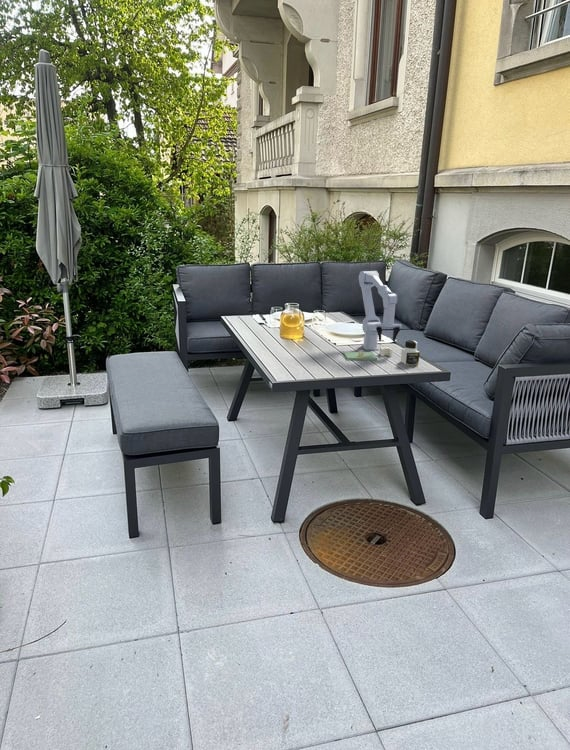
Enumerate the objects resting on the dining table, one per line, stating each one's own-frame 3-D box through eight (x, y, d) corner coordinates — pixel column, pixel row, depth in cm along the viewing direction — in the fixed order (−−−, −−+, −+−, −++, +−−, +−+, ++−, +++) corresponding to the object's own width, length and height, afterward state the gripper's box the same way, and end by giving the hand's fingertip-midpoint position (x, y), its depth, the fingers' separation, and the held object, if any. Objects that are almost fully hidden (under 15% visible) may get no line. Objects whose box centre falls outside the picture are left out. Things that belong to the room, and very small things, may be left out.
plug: (379, 354, 312) (380, 347, 311) (389, 354, 312) (389, 347, 311) (381, 356, 307) (382, 349, 306) (391, 356, 308) (392, 349, 306)
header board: (343, 354, 310) (343, 346, 309) (372, 354, 311) (372, 346, 310) (347, 360, 298) (347, 352, 297) (377, 360, 300) (377, 352, 298)
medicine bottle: (405, 365, 292) (407, 342, 289) (400, 361, 299) (402, 339, 295) (418, 365, 294) (420, 342, 290) (412, 361, 300) (415, 339, 297)
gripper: (377, 317, 299) (375, 342, 303) (404, 317, 300) (401, 342, 304) (374, 314, 306) (372, 339, 310) (400, 315, 307) (398, 339, 311)
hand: (386, 340), depth 307 cm, fingers open, 7 cm apart
